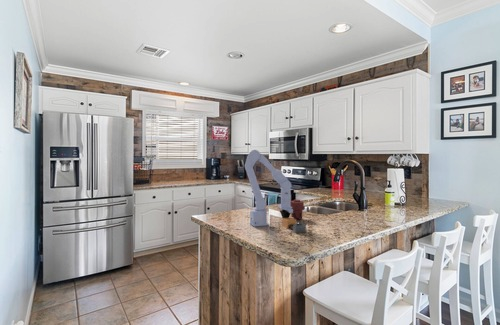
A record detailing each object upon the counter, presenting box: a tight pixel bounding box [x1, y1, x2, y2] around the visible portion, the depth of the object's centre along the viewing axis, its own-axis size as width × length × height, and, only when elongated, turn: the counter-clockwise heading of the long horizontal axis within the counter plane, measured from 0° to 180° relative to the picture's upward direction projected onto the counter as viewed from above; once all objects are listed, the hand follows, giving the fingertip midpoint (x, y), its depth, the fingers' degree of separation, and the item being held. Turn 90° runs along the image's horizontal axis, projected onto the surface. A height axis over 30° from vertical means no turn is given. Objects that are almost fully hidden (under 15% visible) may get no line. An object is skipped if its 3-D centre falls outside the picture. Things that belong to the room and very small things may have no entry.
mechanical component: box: [290, 199, 306, 221], centre depth 173 cm, size 12×10×10 cm
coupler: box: [289, 221, 307, 234], centre depth 147 cm, size 6×10×5 cm, turn 19°
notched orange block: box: [281, 217, 297, 229], centre depth 155 cm, size 6×6×4 cm
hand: (285, 222), depth 160 cm, fingers closed
